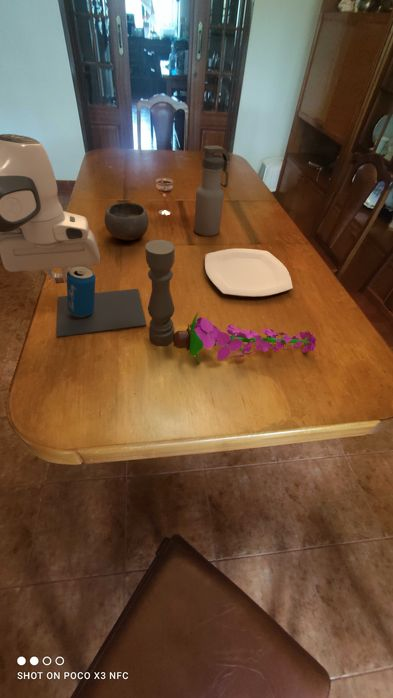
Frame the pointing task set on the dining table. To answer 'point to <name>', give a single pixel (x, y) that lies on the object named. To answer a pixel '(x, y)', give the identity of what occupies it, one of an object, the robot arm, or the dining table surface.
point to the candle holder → (160, 291)
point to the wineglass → (164, 191)
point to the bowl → (126, 220)
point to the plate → (247, 272)
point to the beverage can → (80, 290)
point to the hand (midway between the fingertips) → (60, 281)
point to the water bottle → (211, 191)
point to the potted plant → (234, 339)
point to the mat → (103, 314)
